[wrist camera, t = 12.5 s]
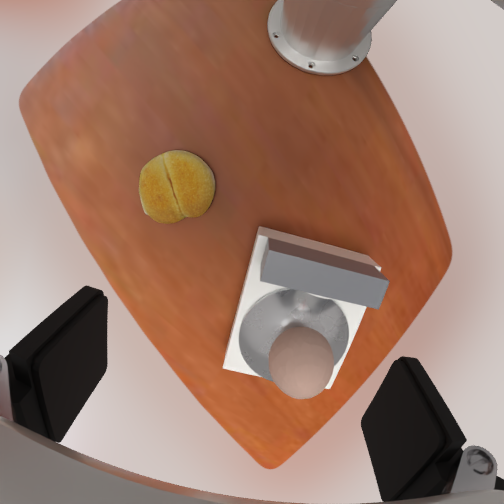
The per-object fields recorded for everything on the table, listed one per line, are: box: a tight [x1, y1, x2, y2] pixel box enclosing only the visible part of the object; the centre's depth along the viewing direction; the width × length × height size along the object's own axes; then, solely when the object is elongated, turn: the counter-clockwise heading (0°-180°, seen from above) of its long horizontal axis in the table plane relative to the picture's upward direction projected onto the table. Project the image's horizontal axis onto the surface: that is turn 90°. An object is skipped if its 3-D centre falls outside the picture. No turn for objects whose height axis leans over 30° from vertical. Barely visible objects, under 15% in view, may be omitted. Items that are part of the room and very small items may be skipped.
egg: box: [268, 327, 334, 399], centre depth 31 cm, size 7×7×9 cm
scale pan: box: [239, 288, 349, 382], centre depth 36 cm, size 13×13×1 cm
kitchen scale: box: [223, 226, 390, 389], centre depth 36 cm, size 17×14×10 cm
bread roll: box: [139, 150, 215, 224], centre depth 35 cm, size 8×9×4 cm
